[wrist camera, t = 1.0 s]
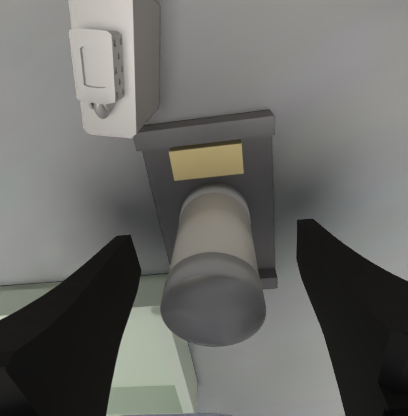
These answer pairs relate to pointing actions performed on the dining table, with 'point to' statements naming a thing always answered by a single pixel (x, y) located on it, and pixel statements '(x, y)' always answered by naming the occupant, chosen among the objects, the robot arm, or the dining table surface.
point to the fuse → (213, 271)
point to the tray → (136, 353)
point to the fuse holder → (214, 172)
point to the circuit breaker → (115, 63)
